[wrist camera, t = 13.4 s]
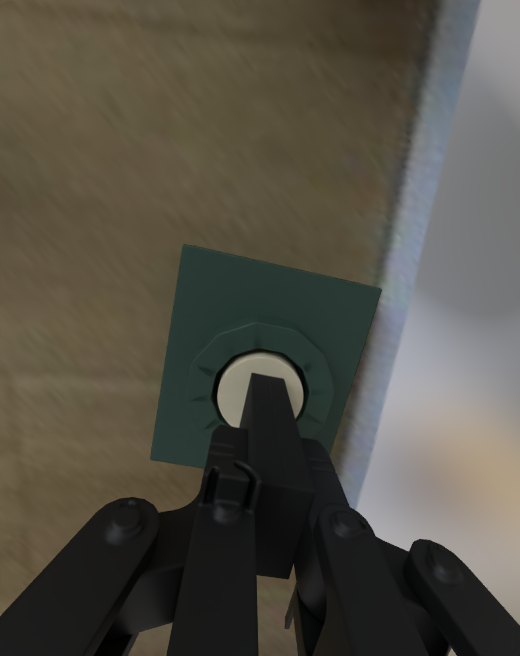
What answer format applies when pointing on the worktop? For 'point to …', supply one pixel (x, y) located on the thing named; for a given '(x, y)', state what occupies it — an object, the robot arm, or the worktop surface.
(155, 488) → the worktop surface
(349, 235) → the worktop surface
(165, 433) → the timer box
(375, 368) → the worktop surface
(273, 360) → the timer button
